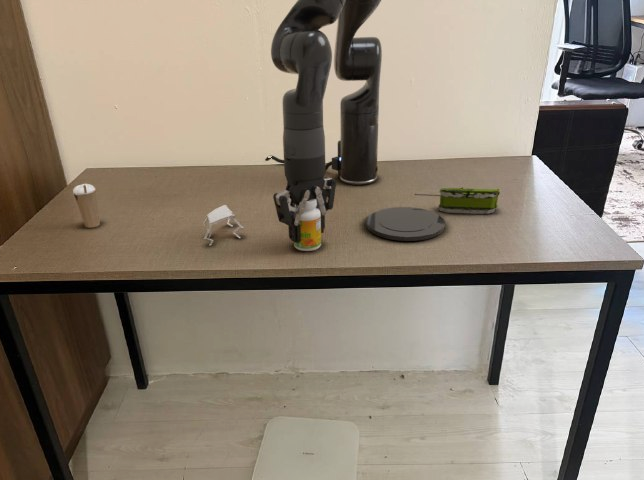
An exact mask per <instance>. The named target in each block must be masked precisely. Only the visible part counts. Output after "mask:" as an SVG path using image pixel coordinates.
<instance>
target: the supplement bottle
mask: <svg viewBox="0 0 644 480" xmlns="http://www.w3.org/2000/svg"><path fill="white" fill-rule="evenodd" d="M316 206H317V199H316V198H315V199H313V200H310V201H307V203H306V206H305V210H304V213H303V214H302V215H301V218H300V222H299V225H300V236H301V241H300V242H299V243H295V242H293V246H294V249H296V250H298V251H301V252H312V251H316V250H318V249H319V248H321V246H322V233H321V213H320V210H319V209H318V208H316ZM295 207H296V208H298V207H299V206H298V205H295ZM294 216H295V212H294ZM294 216H293V218H294Z"/></svg>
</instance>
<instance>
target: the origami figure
mask: <svg viewBox="0 0 644 480" xmlns="http://www.w3.org/2000/svg"><path fill="white" fill-rule="evenodd" d="M231 220H233V222H234V223H236V224H237V225H238V226H237V228H235V229H234V230H233V231H232V233H233V234H234V235H235V236H236V237H237V238H238V239H241V236H240V235H239V234H237V232H239V231H241V230H243V229H244V228H245V227H244V226H243V225H242V224H241V223H240V222H239V221H238V220H237V219H236V215H235V214H233V211H232V210H231V209H229V207H228V204H224V205H221V206H219V207H217V208H215V209H213V210H212V211H211V212H209V213H208V214H206V218H205V220H204V221H203V223H202V225H203V227H204V228H205V230H207V231H206V233H205V235H204V237H203V240H205V241H210V242H209V244H208V246H212V245H213V242H214V239H212V238H211V237H212V231H211V228H212V226H214V225H216V224H219V223H221V222H224V221H227V222H226V225H228V226H230V227H232V228H233V227H234V225H233V224H231V223H230V221H231ZM207 221H208V226H207V224H206V223H207ZM208 234H209V235H208Z"/></svg>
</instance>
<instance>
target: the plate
mask: <svg viewBox="0 0 644 480" xmlns="http://www.w3.org/2000/svg"><path fill="white" fill-rule="evenodd" d="M445 225H446V221H445V219H444V218H443V216H441V215H439V214H438V213H436V212H434V211H431V210H428V209H424V208H420V207H412V206H411V207H410V206H397V207H396V206H395V207H387V208H382V209H379V210H377V211H374V212H372V213H370V215H368V217H367V218H366V227H367V229H368V231H369V232H371V233H372V234H373V235H375V236H378V237H380V238H384V239H387V240H393V241H400V242H414V241H415V242H417V241H425V240H428V239H432V238H435V237H436V236H437V237H438V236H439V235H441V234H442V233H443V232H444V230H445V227H446V226H445Z"/></svg>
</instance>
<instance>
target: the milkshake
mask: <svg viewBox="0 0 644 480" xmlns="http://www.w3.org/2000/svg"><path fill="white" fill-rule="evenodd" d="M72 194H73V196H74V199H75V202H76V204H77V206H78V209H79V213H80V215H81V219H82V221H83V224H84V227H85V228H88V229H93V228H96V227H97V228H98V227H99V226H100V225H101V220H100V213H99V208H98V207H99V206H98V199H97V192H96V187H95V186H94V185H92V184H89V183H81V184H79V185H75V187H73V189H72Z"/></svg>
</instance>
